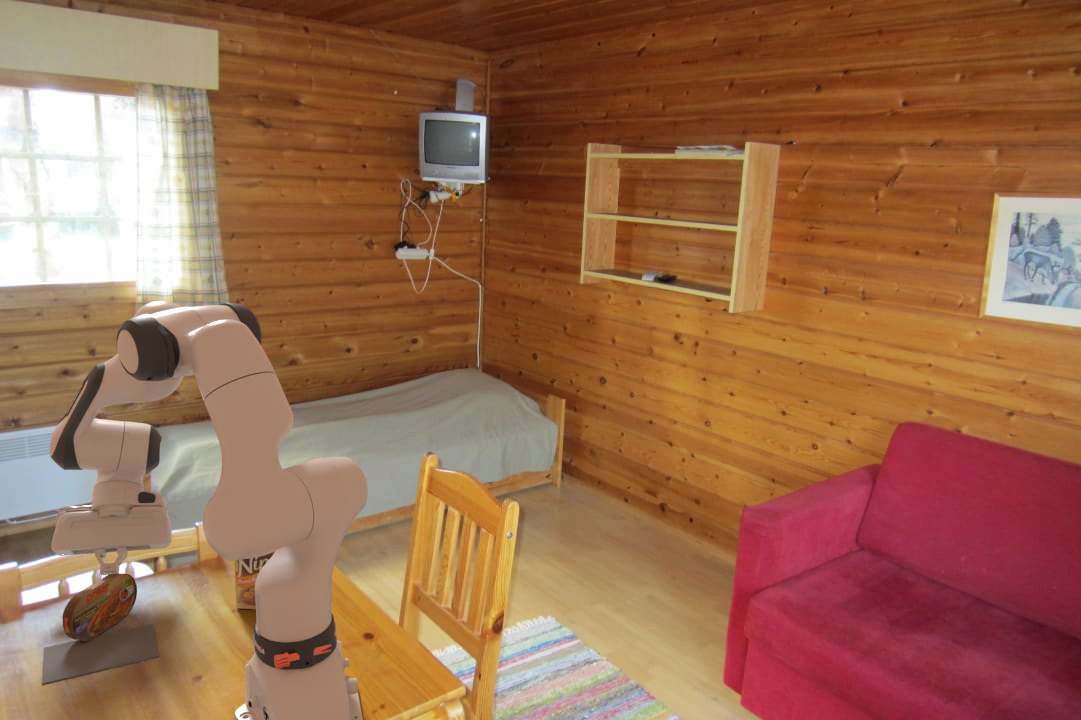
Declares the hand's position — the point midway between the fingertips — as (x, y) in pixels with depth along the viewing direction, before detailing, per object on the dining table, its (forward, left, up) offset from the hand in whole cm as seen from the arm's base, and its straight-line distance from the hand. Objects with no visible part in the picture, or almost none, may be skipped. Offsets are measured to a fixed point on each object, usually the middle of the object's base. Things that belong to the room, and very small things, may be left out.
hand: (108, 574), depth 151 cm
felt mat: (-15, +2, -7) cm, 17 cm away
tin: (-6, +2, -7) cm, 10 cm away
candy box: (-11, -25, -7) cm, 28 cm away
